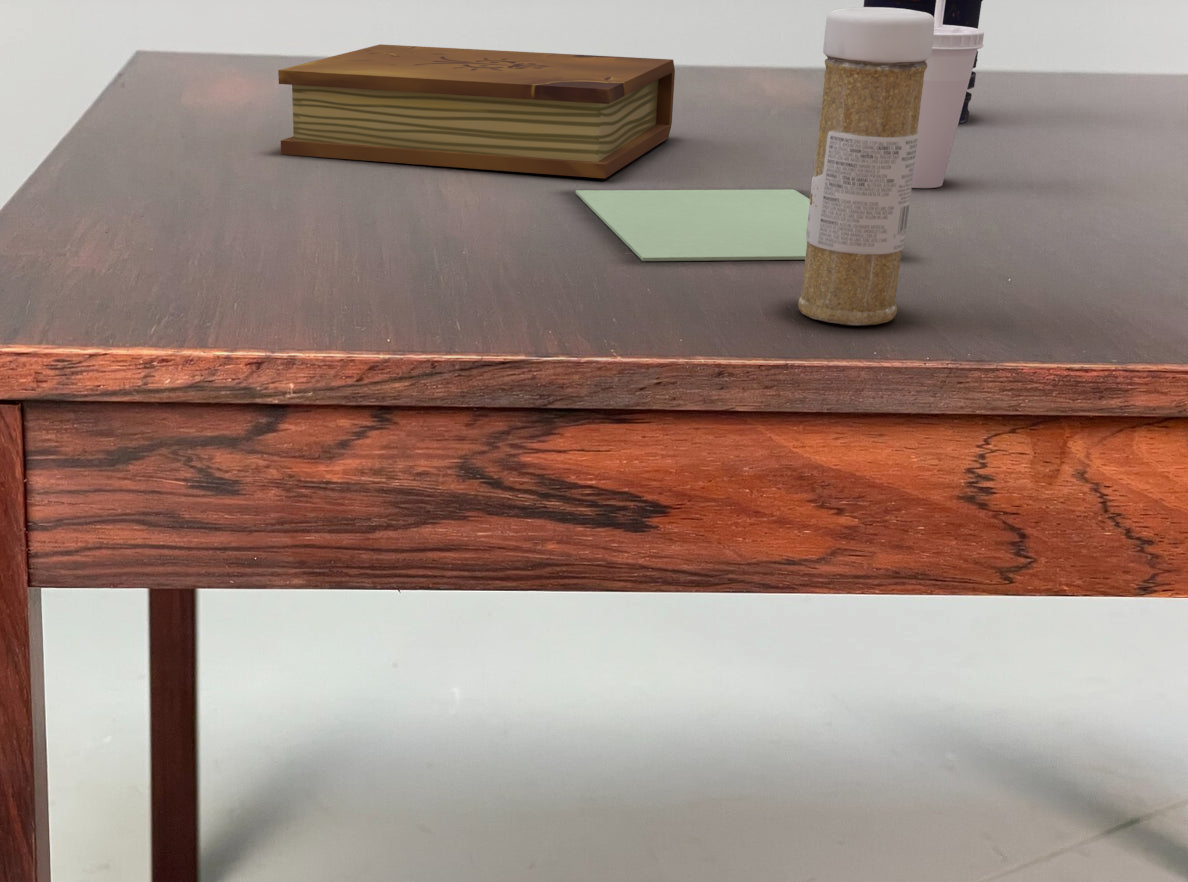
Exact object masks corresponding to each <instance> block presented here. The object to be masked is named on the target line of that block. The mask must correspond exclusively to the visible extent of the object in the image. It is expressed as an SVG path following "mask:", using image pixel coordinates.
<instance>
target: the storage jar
mask: <svg viewBox="0 0 1188 882" xmlns="http://www.w3.org/2000/svg"><path fill="white" fill-rule="evenodd" d="M983 1H984V0H945V8H944V16H943V24H942V25H953V26H964V27H971V28H977V29H979V23H980V18H981V17H980V16H981V9H982V2H983ZM862 7H884V8H899V9H909V10H914V11H920V12H926V13H929V14H931V15H932V16H933V17H934V15H935V7H936V0H863V6H862ZM978 55H979V51H978V50H977V53H976V56H975V61H974V65H973V69H975V68H977V64H978V63H977V62H978ZM976 76H977V73H976V72H975V71H973V70H972V73H971V77H970V80H969V84H968V88H967V90H971V89H973V88H975V85H976V84H975V83H976V78H977V77H976ZM972 96H973V94H972V93H971V92H969V91H967V92H966V96H965V99H964V103H963V107H962V111H961V115H960V119H959V123H958V124H963V123H967V122H968V121H969V119H970V117H969V116H970V111H969V103H970V102H971V100H972Z"/></svg>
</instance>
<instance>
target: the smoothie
mask: <svg viewBox="0 0 1188 882" xmlns="http://www.w3.org/2000/svg"><path fill="white" fill-rule="evenodd" d="M944 8H945V0H936V7H935V15H934V21H935V24H934V36H933V45H932V53H931V57H930V58H929V59H927V60H926V61H925V62H926V63H927V68H926V70H925V72H924V78H923V88H922V97H921V103H920V115H919V122H918V129H917V131H918V141H917V149H916V157H915V165H914V173H913V181H912V188H911V189H933V188H940V187H942V186H943V183H944V180H945V177H946V172H947V169H948V164H949V161H950V157H951V153H952V149H953V145H954V141H955V137H956V135H957V130H958V126H959V124H960V123H959V119H960V115H961V111H962V107H963V103H964V99H965V96H966V92H968V89H967V88H968V84H969V80H970V77H971V73H972V71H973V69H974V68H973V65H974V61H975V56H976V53H977V51H978V50H980V49H982V48H984V44H983V43H984V38H985V37H984V36H985V31H984V30H982V29H980V28H978V29H977V28H971V27H964V26H953V25H942V24H943V16H944Z"/></svg>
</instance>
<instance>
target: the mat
mask: <svg viewBox="0 0 1188 882" xmlns="http://www.w3.org/2000/svg"><path fill="white" fill-rule="evenodd" d="M575 195H576V196H577V197H578V198H579V199H580V200H581V201H582V202H583V203H584V204H585V205H586V206H587V207H588V208H590V210H591V211H592V212H593V213H594V214H595V215H596V216H597V218H599V219H600V220H601V221H602V222H603V223H604V224H605V225H606V226H607V227H608V228H609V229H610V230H611V231H612V232H613V233H614V234H615V235H616V236H617V237H618V238H619V239H620V240H621V241H622V242H623V243H624V244H625V245H626V246H627V247H628V248H629V249H630V250H631V251H632V252H633V253H634V254H635V256H637V257H638V258H639V259H640V260H641V262H693V261H694V262H695V261H699V262H700V261H705V262H706V261H707V262H708V261H709V262H710V261H797V260H798V261H800V260H801V261H802V260H803V261H805V258H806V249H807V240H806V232H807V222H808V213H809V204H810V197H809V198H808V197H807V196H806V195H804V194H802V193H800V192H799V191H797V190H796V189H599V190H597V189H591V190H590V189H589V190H588V189H585V190H583V189H581V190H579V189H577V190H575Z"/></svg>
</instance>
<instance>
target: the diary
mask: <svg viewBox="0 0 1188 882" xmlns="http://www.w3.org/2000/svg"><path fill="white" fill-rule="evenodd" d="M277 73H278V85H288V86H289V85H291V95H292V97H291V98H292V125H293V126H292V130H293V133H292V134H293V136H289V137H287V138H284V139H280V154H281V155H290V156H302V157H303V156H304V157H315V158H316V157H317V158H327V159H328V158H329V159H340V160H354V161H356V160H357V161H367V162H369V161H370V162H383V163H397V164H410V165H423V166H435V167H447V168H449V167H450V168H463V169H474V170H487V171H501V172H515V173H527V174H528V173H529V174H539V175H540V174H541V175H555V176H567V177H581V178H594V179H595V178H596V179H607V178H609V177H610V176H611V175H613V174H614V173H617V172H618V171H619V170H621V169H623V168H624V167H625V166H627V165H629V164H630V163H632V162H633V161H635V160H636V159H638V158H640V157H641V156H642V155H644V154H646V153H647V152H649V151H651V150H652V149H653V148H655V147H656V146H658V145H659V144H661V143H663V142H664V141H666V140H667V139H669V137H670V133H671V129H672V125H673V112H674V111H673V109H674V96H675V95H674V92H675V78H676V77H675V76H676V75H675V74H676V70H675V62H674V59H671V58H670V59H669V58H653V57H652V58H650V57H631V56H614V55H613V56H612V55H596V54H595V55H594V54H576V53H574V54H572V53H555V52H554V53H553V52H534V51H518V50H517V51H515V50H514V51H513V50H497V49H476V48H456V47H441V46H440V47H436V46H421V45H420V46H417V45H402V44H401V45H400V44H399V45H398V44H382V43H381V44H376V45H372V46H368V47H364V48H360V49H356V50H352V51H348V52H344V53H340V54H336V55H333V56H328V57H324V58H321V59H320V58H319V59H315V60H313V61H308V62H304V63H301V64H297V65H293V66H288V67H284V68H281V69H278V70H277Z"/></svg>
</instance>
